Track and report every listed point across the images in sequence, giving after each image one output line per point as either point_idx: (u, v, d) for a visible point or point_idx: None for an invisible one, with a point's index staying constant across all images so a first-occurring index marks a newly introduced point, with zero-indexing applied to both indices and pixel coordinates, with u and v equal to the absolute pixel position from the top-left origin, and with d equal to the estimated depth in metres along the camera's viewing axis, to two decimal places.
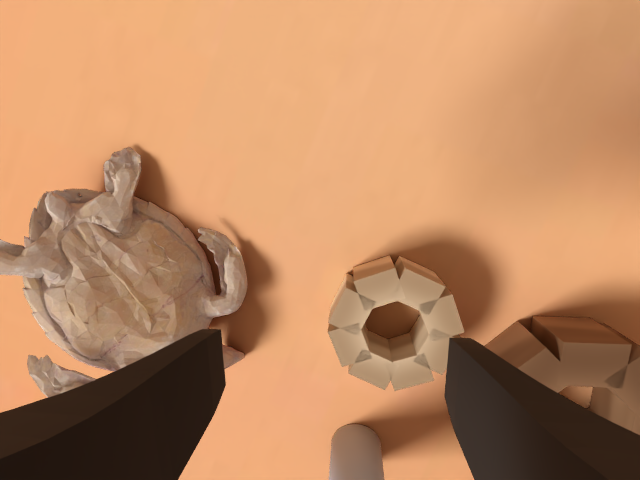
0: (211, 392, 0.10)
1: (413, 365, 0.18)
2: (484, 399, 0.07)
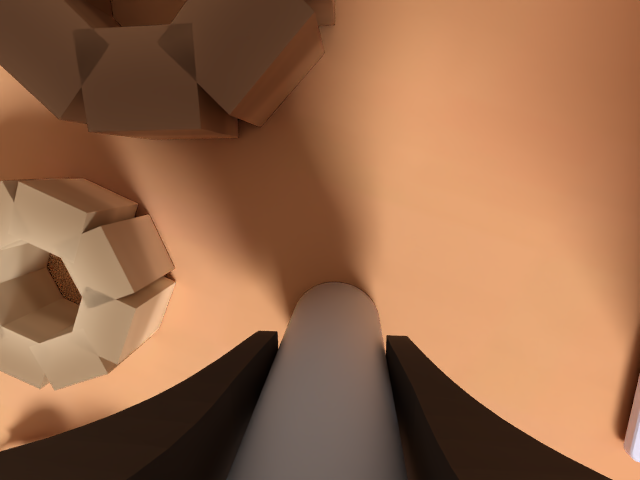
0: None
1: (80, 263, 0.11)
2: (402, 395, 0.08)
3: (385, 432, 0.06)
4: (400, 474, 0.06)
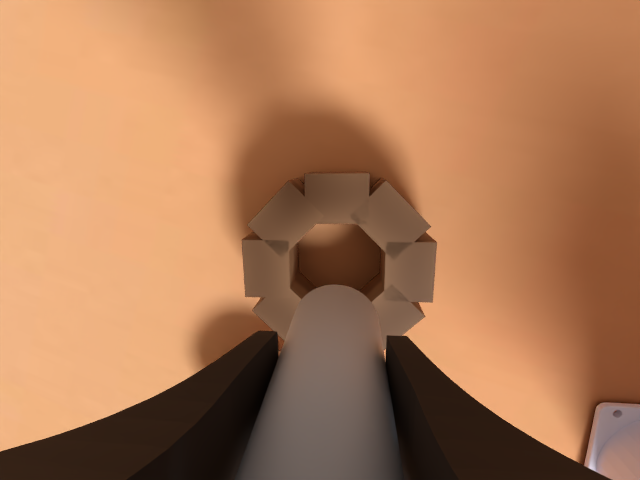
0: None
1: None
2: (402, 395, 0.08)
3: (380, 436, 0.06)
4: (394, 477, 0.06)
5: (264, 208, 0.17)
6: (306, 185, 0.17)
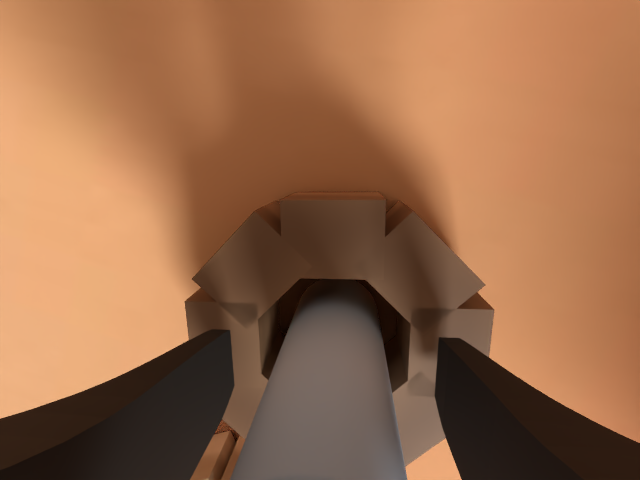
0: (221, 393, 0.10)
1: None
2: (470, 398, 0.08)
3: (377, 395, 0.07)
4: (390, 427, 0.07)
5: (217, 254, 0.11)
6: (283, 218, 0.10)
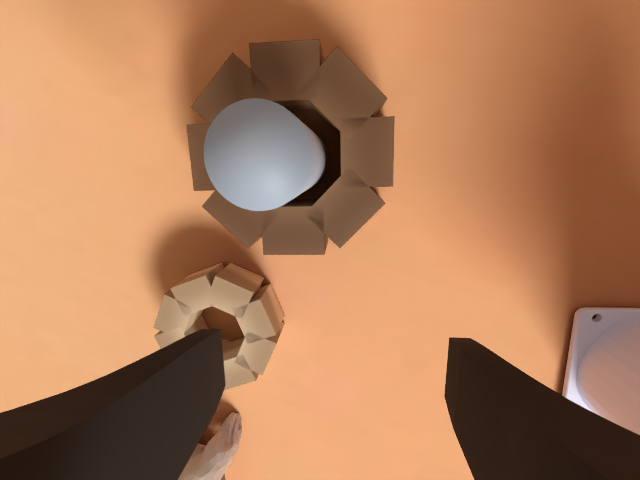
0: (211, 392, 0.10)
1: (245, 319, 0.19)
2: (484, 399, 0.07)
3: (303, 123, 0.12)
4: (307, 128, 0.12)
5: (208, 86, 0.16)
6: (252, 57, 0.15)
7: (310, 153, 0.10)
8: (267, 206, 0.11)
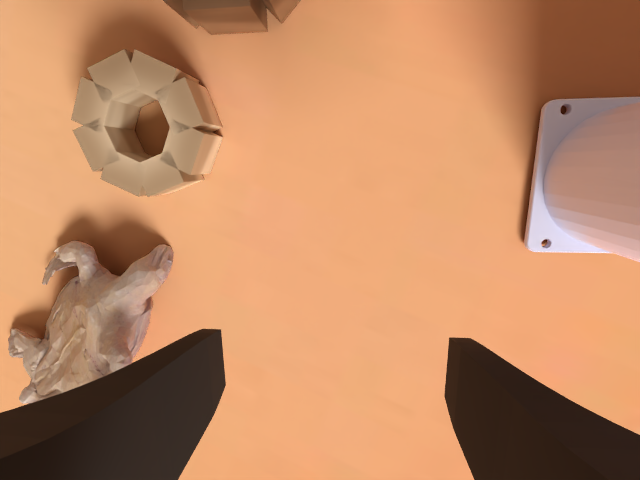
0: (211, 392, 0.10)
1: (170, 103, 0.17)
2: (484, 399, 0.07)
3: None
4: None
5: None
6: None
7: None
8: None
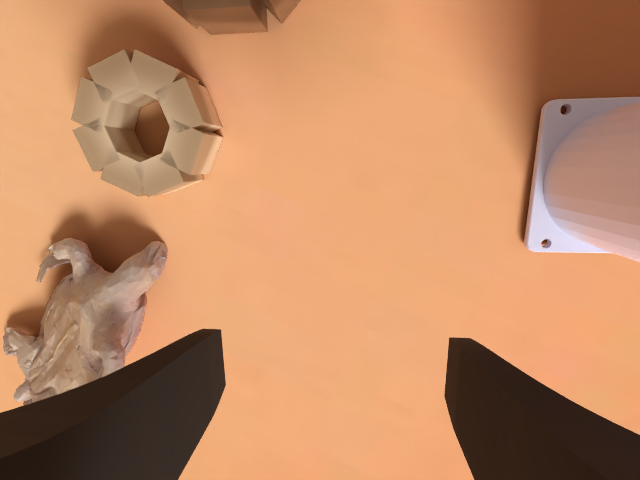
0: (211, 392, 0.10)
1: (170, 103, 0.17)
2: (484, 399, 0.07)
3: None
4: None
5: None
6: None
7: None
8: None
